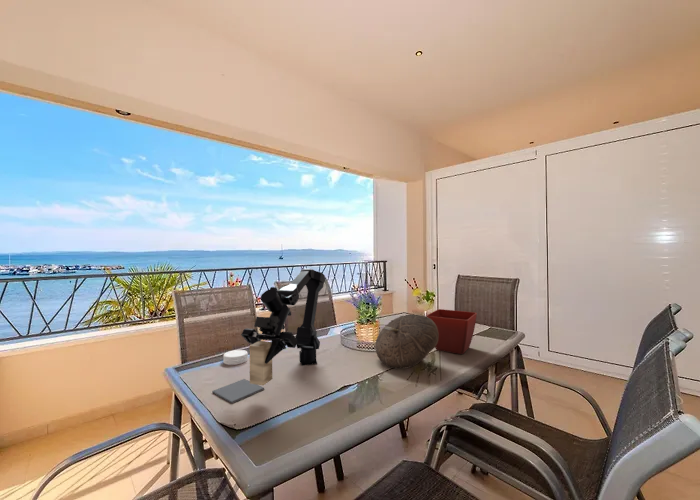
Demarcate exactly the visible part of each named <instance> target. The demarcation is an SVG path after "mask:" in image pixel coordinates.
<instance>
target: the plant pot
mask: <svg viewBox="0 0 700 500" xmlns="http://www.w3.org/2000/svg"><path fill="white" fill-rule="evenodd" d="M477 315H478V313H477V312H472V311H463V310H453V309H445V308H443V309H442V308H441V309H440V308H439V309H436V310H434V311H432V312H431V313H429V314H427V315H426V317H428V318H430V319H431V320H433V322H434V323H435V324H436V326H437V329H438V335H439V338H438V343H437V345H436V346H435V348H434V349H435V350H436V351H441V352H446V353H447V352H448V353H452V354H458V355H463V354H465V353H466V352H467V351H468V349H469V348H470V347H471V343H472V340H473V335H474V332H475V327H476V322H477Z"/></svg>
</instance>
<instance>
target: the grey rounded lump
mask: <svg viewBox="0 0 700 500" xmlns="http://www.w3.org/2000/svg"><path fill="white" fill-rule="evenodd" d="M438 338H439V335H438V329H437V326H436V324H435V323H434V322H433V320H431V319H430V318H428V317H427V315H426V316H425V315H420V314H405V315H400V316H397V317H395V318H394V319H391V320H390V322H388V323H387V324H385V325H384V326H383V328H382V329H381V330H380V332H379V333H378V336H377V337H376V340H375V353H376V354H377V355H376V356H377V358H378V360H380V362H381V363H383V364H384V365H385V366H387V367H389V368H392V369H407V368H411V367H414V366H416V365H417V364H419V363H420V362H422V361H423V360H424V359H425V358H426V356H427V355H428V354H429V353H431V352H432V350H434V349H436V348H435V346H436V345H437V343H438Z"/></svg>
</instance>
